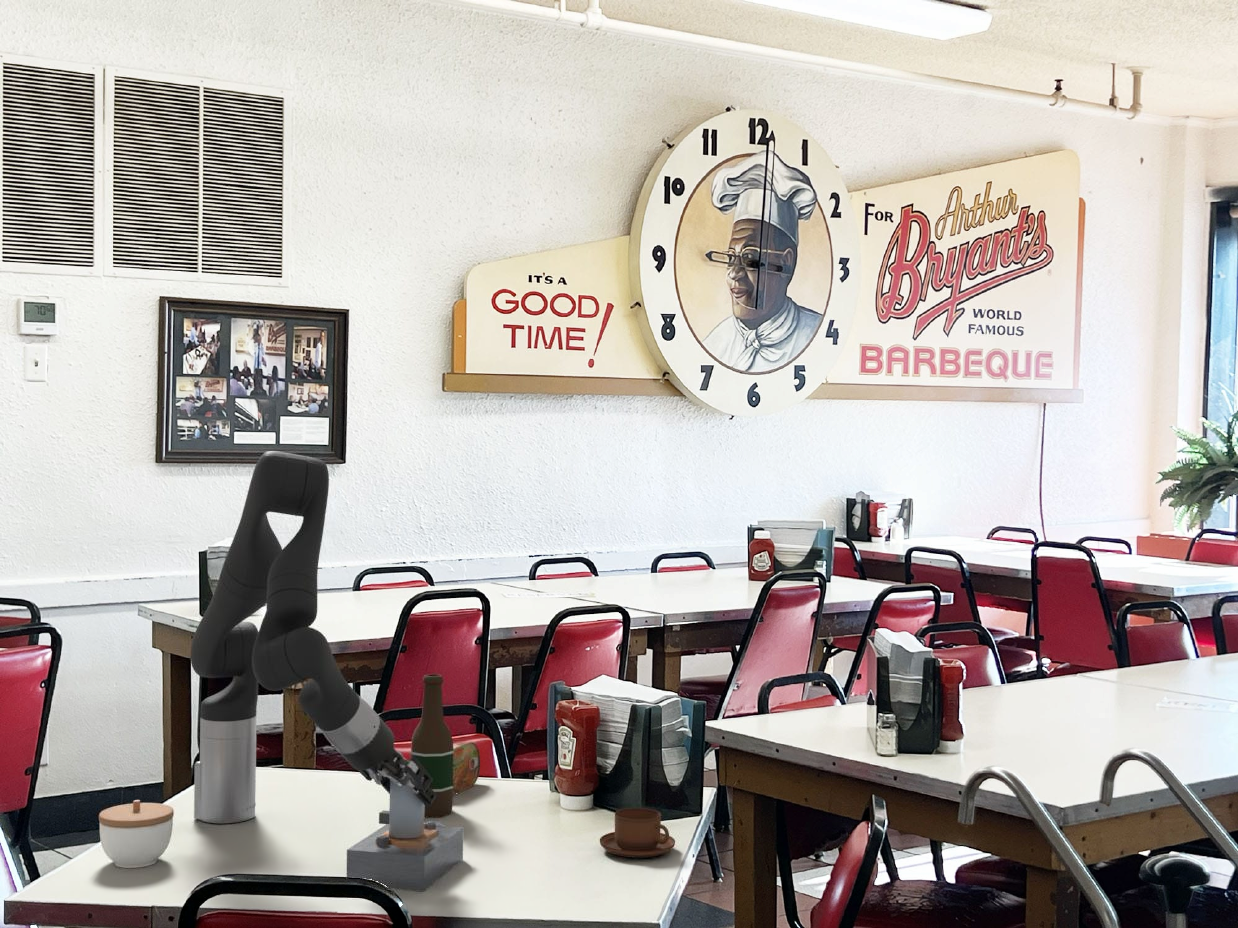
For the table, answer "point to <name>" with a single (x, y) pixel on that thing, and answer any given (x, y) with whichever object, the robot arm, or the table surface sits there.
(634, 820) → the cup and saucer
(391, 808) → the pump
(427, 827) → the grey block with pad
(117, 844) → the lidded jar
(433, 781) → the beer bottle
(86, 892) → the table surface
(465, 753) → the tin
